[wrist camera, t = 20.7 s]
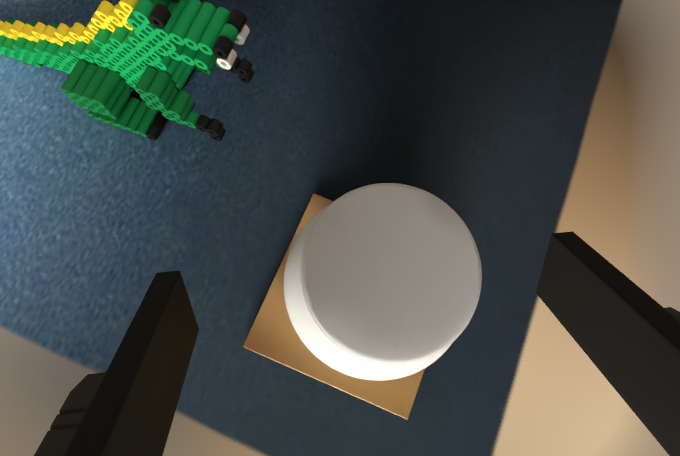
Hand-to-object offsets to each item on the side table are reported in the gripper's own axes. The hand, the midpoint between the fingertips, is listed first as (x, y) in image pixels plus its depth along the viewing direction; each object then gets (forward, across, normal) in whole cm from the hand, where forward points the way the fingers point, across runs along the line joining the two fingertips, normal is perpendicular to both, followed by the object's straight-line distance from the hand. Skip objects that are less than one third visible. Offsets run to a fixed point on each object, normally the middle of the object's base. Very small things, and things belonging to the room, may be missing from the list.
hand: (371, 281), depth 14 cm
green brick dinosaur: (+16, -13, +5) cm, 21 cm away
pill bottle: (+5, 0, -5) cm, 7 cm away
